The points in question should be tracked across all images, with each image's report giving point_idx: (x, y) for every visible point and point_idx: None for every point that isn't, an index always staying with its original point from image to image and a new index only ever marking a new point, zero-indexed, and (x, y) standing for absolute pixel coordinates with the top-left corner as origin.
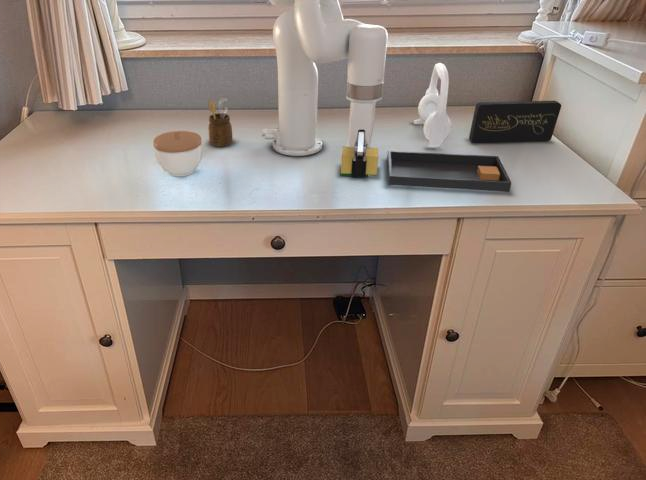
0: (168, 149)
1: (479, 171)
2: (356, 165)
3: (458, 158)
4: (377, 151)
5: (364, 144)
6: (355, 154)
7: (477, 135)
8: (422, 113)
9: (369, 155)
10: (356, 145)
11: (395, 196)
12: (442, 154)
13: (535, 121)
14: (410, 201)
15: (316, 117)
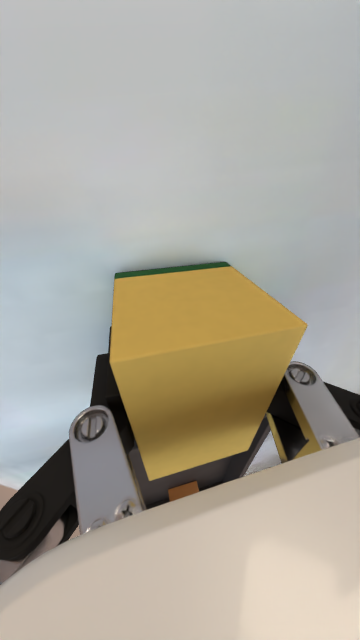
0: None
1: (183, 495)
2: (92, 397)
3: (234, 472)
4: (208, 461)
5: (277, 433)
6: (2, 528)
7: None
8: None
9: (153, 463)
10: (288, 398)
11: (25, 445)
12: (243, 469)
13: None
14: (17, 467)
15: None
